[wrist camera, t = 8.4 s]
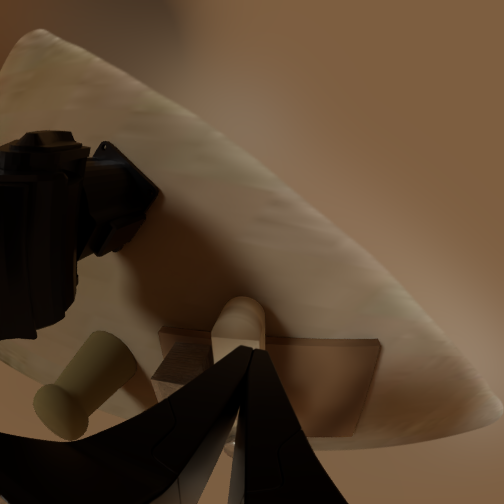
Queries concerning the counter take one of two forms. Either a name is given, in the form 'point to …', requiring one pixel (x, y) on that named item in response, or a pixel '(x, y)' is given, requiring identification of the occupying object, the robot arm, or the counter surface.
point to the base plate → (311, 376)
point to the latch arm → (238, 329)
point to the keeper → (184, 373)
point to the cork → (84, 385)
